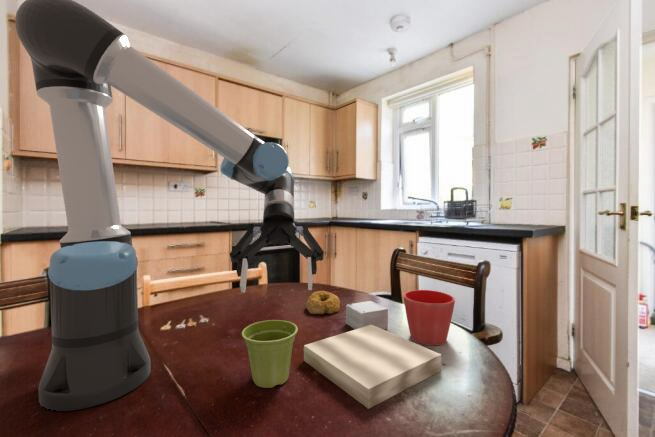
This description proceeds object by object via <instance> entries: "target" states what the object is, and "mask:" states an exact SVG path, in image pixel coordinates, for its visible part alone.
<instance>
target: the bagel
mask: <svg viewBox="0 0 655 437" xmlns="http://www.w3.org/2000/svg"><path fill="white" fill-rule="evenodd" d="M340 307H341V300H340V298H339V296H337V295H336V294H334V293H332V292H330V291H327V290H326V291H325V290H317V291H314V292H313V293H311V294H310V296H308V297H307V302H306V304H305V309H306V310H307V311H308V312H309V314H311V315H325V314H334V313H338V312H339V310H340V309H341V308H340Z"/></svg>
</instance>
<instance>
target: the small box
mask: <svg viewBox="0 0 655 437" xmlns="http://www.w3.org/2000/svg"><path fill="white" fill-rule="evenodd" d="M345 308H346V310H345V315H346V316H345V319H346V320H345V323H346V325H348V326H349V327H350V328H352V329H353V330H355V329H358V328H362V327H365V326H368V325H374V326H376V327H378V328H381V329H383V330H388V329H389V313H388V312H389V309H388V308H387V307H385V306H382V305H380V304H378V303H376V302H374V301H372V300H366V301H361V302H355V303H348V304H346V306H345Z"/></svg>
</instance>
